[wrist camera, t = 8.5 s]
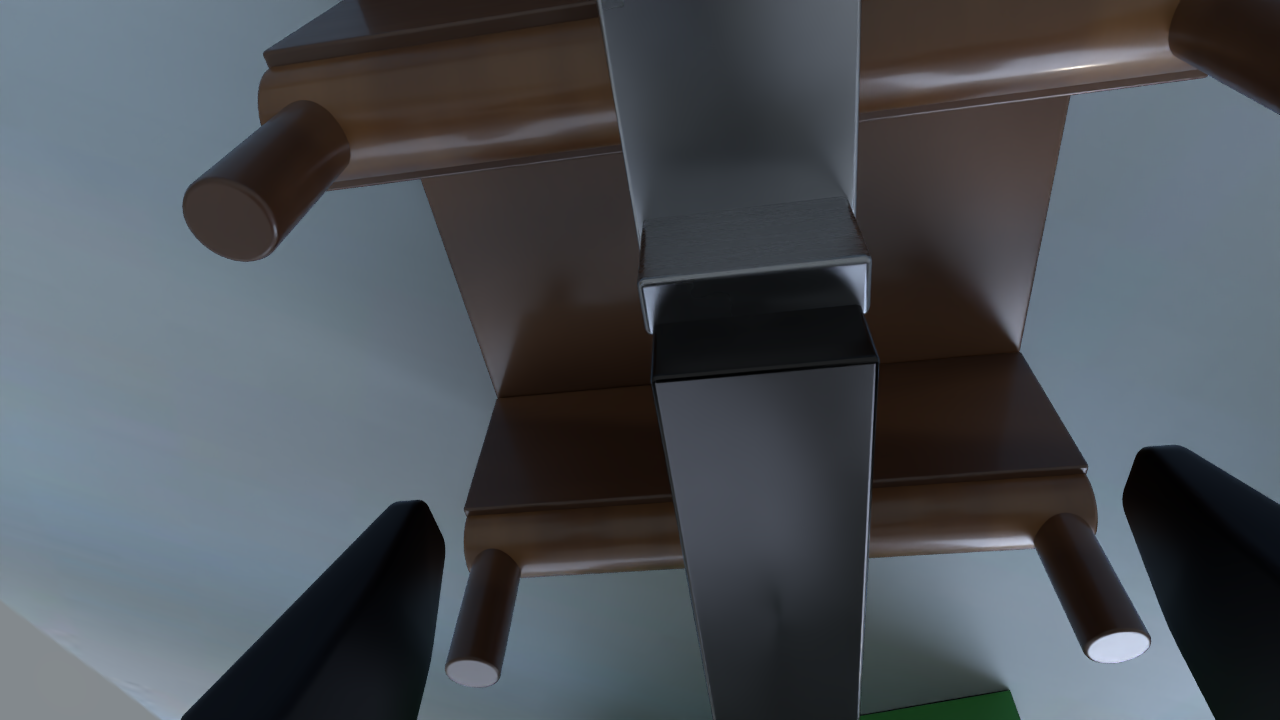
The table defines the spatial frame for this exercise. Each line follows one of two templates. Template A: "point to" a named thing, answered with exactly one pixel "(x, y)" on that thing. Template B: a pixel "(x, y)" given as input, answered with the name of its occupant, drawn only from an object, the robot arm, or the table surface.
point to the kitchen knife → (757, 331)
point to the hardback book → (957, 709)
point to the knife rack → (609, 256)
